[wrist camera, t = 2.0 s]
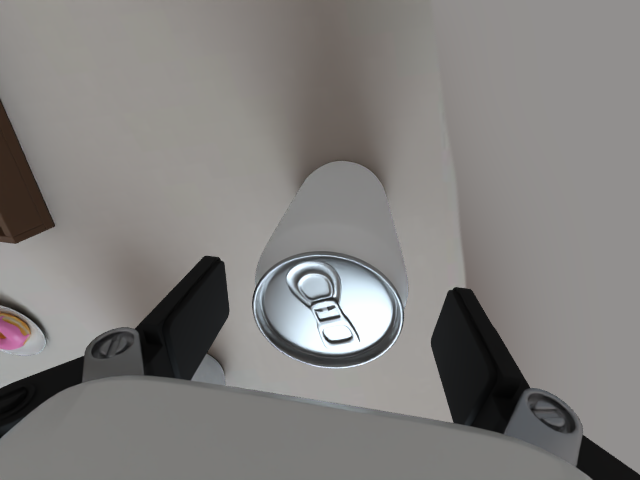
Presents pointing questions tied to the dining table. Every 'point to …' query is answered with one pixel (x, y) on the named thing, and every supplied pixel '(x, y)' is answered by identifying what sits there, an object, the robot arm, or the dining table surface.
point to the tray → (18, 191)
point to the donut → (19, 334)
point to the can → (333, 272)
